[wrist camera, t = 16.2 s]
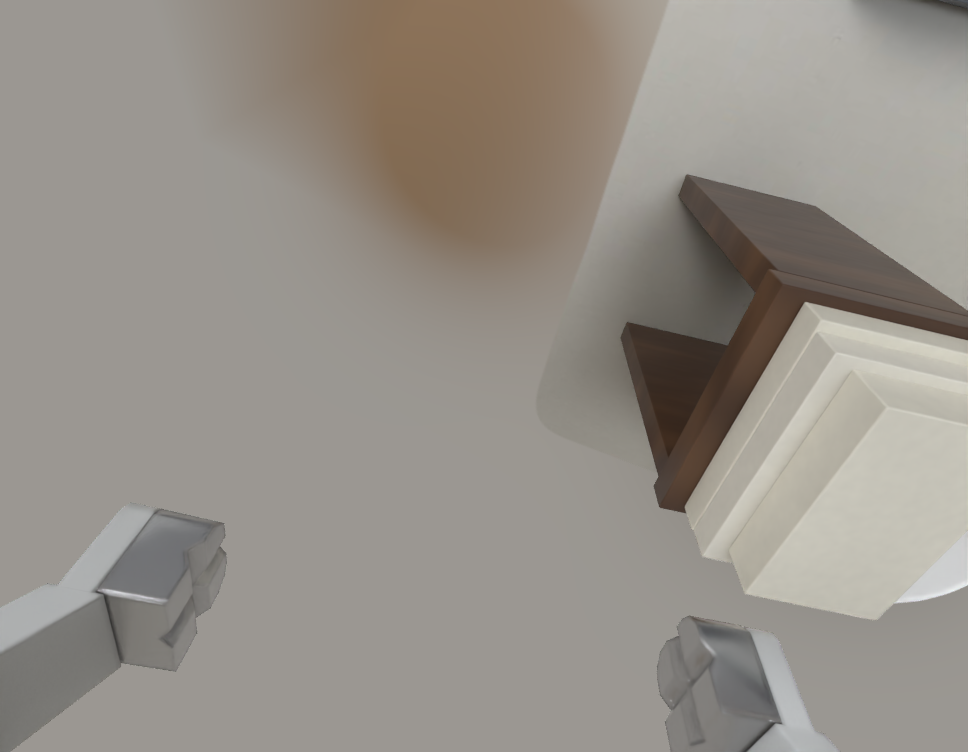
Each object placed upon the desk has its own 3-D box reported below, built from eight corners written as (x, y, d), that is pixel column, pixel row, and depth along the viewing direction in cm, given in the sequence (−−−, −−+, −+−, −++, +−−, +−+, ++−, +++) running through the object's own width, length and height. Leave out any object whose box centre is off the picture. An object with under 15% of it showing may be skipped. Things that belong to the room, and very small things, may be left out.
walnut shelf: (680, 172, 41) (782, 283, 24) (822, 208, 42) (1018, 340, 25) (614, 336, 49) (658, 508, 32) (736, 364, 49) (841, 547, 33)
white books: (804, 300, 25) (842, 341, 22) (984, 343, 25) (1046, 389, 22) (683, 506, 32) (699, 558, 29) (826, 536, 32) (856, 591, 29)
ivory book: (852, 368, 22) (887, 407, 20) (1005, 403, 23) (1056, 445, 20) (727, 549, 28) (744, 595, 26) (850, 575, 29) (876, 621, 26)
